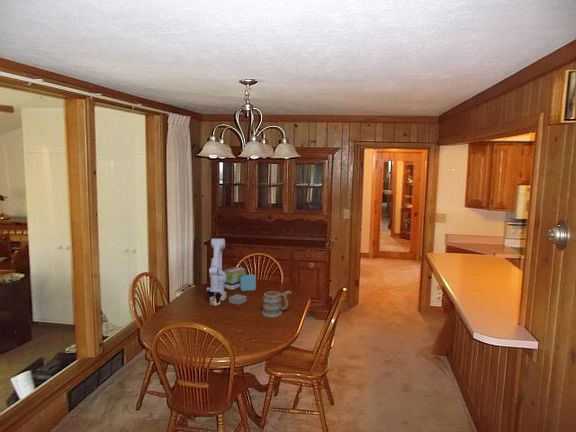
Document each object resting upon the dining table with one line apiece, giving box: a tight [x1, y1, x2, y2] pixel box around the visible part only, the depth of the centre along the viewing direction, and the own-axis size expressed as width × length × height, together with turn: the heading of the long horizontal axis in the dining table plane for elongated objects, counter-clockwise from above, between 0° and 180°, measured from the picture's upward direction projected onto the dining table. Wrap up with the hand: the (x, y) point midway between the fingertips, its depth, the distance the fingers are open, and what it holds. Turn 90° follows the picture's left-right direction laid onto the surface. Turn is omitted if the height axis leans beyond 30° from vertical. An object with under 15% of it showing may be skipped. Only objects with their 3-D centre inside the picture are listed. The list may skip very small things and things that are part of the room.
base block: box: [228, 293, 247, 305], centre depth 300 cm, size 9×9×4 cm
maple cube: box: [209, 295, 221, 306], centre depth 295 cm, size 5×5×5 cm
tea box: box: [223, 266, 246, 291], centre depth 335 cm, size 15×10×15 cm
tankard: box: [261, 290, 293, 318], centre depth 277 cm, size 20×13×15 cm, turn 105°
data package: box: [239, 273, 257, 292], centre depth 328 cm, size 12×4×12 cm, turn 101°
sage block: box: [220, 290, 227, 301], centre depth 306 cm, size 5×5×5 cm
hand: (215, 301), depth 295 cm, fingers closed on maple cube, 5 cm apart
